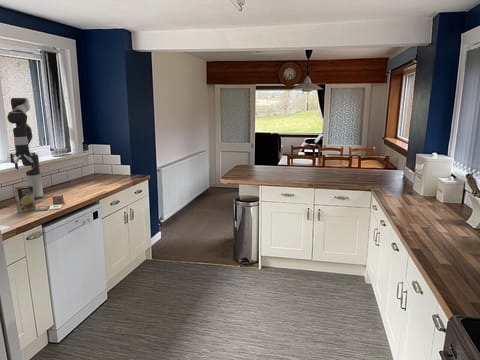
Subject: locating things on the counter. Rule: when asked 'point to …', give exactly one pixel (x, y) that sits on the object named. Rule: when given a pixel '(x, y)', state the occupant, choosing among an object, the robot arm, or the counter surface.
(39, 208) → the pad
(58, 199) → the block
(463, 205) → the counter surface
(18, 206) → the coffee box
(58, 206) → the pad
